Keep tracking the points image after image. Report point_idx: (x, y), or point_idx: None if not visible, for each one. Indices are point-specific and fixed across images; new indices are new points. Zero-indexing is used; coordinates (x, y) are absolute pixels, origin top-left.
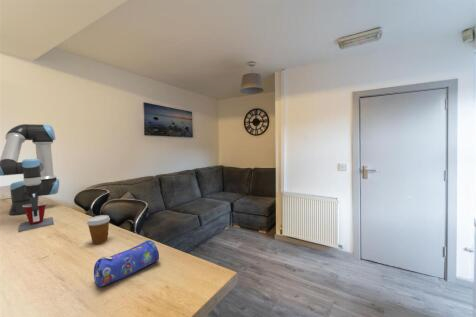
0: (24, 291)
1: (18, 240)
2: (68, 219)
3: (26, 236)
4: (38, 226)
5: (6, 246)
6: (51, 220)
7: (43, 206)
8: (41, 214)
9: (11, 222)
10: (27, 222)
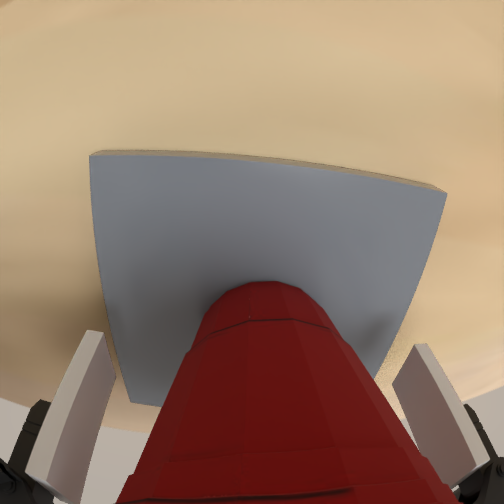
0: None
1: (492, 366)
2: (368, 9)
3: (484, 348)
4: (400, 313)
5: (500, 384)
6: (321, 191)
7: (443, 492)
8: (370, 379)
9: (31, 393)
10: (155, 375)
